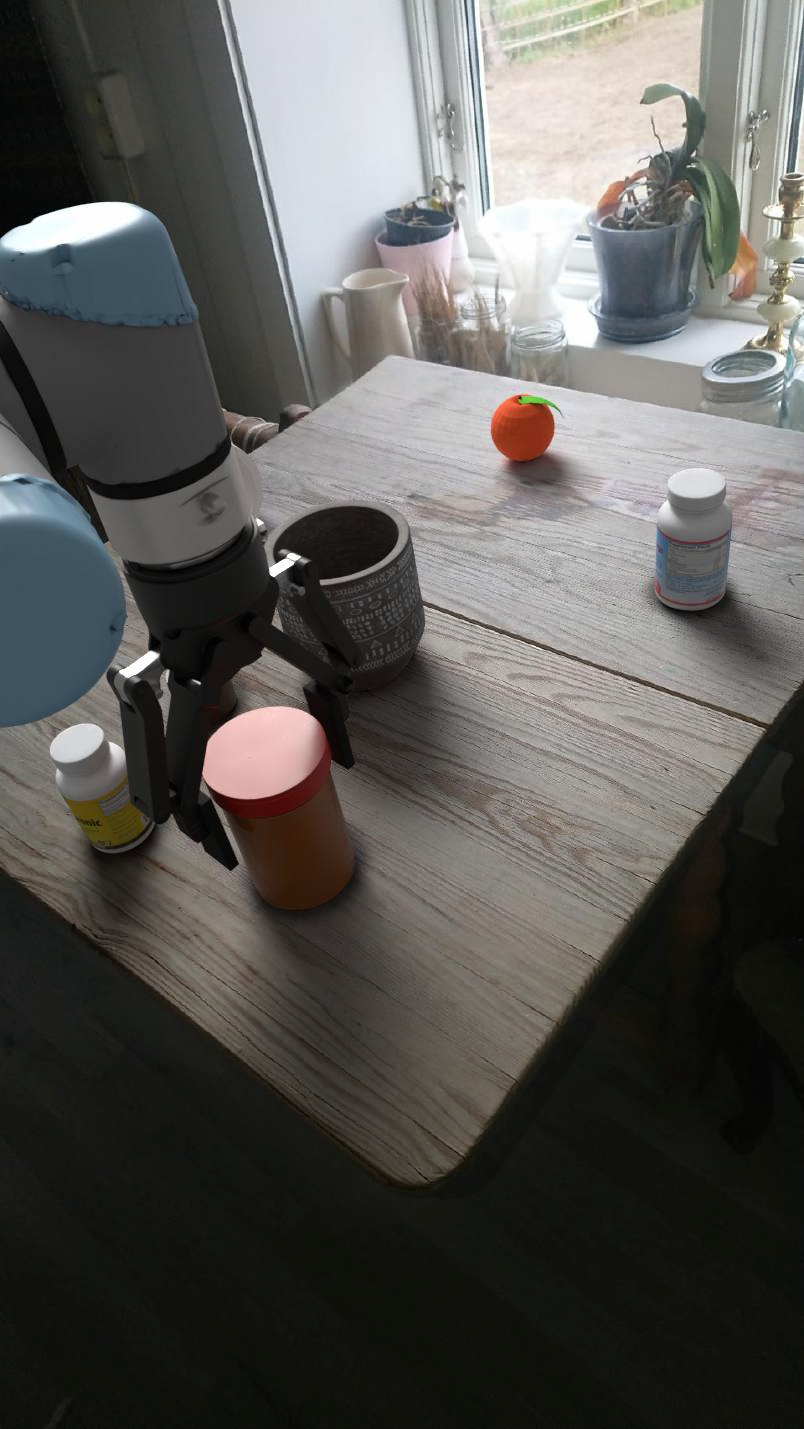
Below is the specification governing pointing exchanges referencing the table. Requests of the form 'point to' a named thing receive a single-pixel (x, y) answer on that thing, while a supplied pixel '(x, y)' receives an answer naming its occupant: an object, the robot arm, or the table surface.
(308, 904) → the jam jar
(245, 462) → the headphone stand
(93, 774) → the supplement bottle
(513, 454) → the clementine
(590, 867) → the table surface
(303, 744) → the jam lid
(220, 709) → the stand
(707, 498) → the pill bottle
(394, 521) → the planter
